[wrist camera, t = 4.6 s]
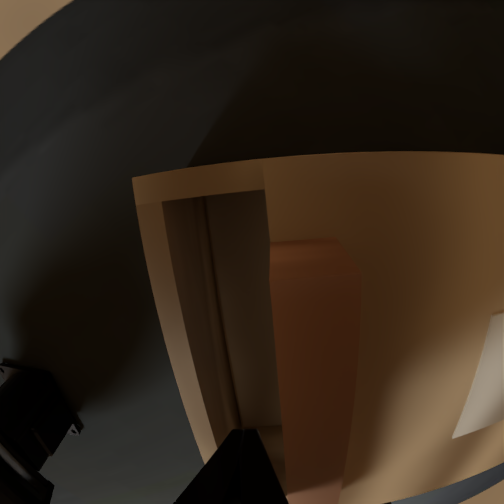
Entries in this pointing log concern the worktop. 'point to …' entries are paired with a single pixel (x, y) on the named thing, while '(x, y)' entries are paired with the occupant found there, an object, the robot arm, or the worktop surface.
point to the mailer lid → (387, 320)
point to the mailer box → (216, 297)
